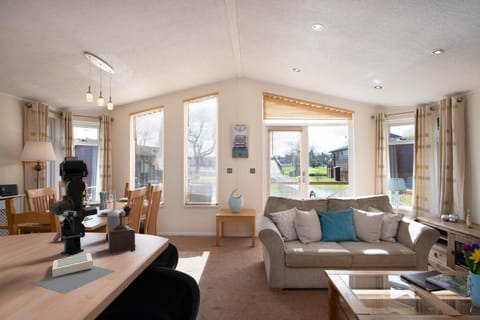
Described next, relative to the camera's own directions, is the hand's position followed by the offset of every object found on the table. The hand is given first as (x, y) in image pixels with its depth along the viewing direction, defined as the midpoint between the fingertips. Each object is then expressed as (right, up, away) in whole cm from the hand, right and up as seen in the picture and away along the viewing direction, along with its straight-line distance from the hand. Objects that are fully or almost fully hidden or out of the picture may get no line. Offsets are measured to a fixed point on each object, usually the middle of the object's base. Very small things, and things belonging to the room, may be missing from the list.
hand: (75, 232), depth 106 cm
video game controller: (-23, -12, +30) cm, 40 cm away
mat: (+8, -12, -14) cm, 20 cm away
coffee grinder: (+10, -12, +19) cm, 24 cm away
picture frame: (+6, -9, -11) cm, 16 cm away
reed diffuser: (0, -12, +33) cm, 35 cm away
